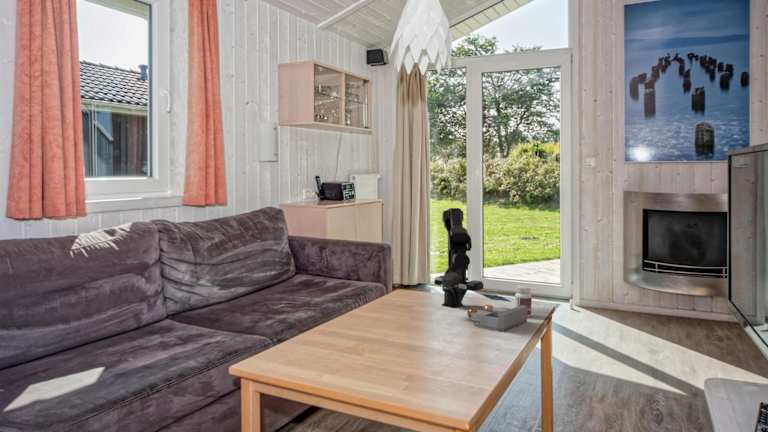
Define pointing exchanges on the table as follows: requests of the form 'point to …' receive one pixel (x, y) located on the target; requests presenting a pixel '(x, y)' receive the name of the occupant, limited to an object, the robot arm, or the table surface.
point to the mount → (504, 319)
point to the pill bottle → (523, 298)
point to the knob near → (477, 314)
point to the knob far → (493, 309)
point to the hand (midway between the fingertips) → (458, 305)
